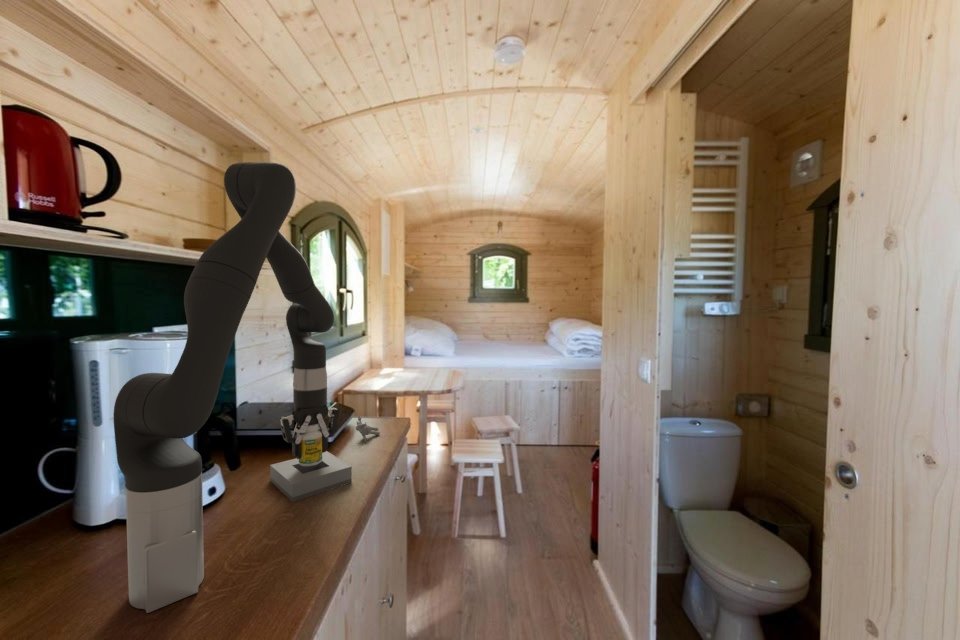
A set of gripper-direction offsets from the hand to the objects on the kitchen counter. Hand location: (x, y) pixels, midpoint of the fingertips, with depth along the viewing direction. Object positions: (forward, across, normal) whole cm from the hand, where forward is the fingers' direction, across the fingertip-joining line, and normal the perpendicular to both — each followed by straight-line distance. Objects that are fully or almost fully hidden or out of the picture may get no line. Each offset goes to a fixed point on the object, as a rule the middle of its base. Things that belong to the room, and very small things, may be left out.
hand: (310, 454), depth 100 cm
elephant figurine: (+7, +26, +20) cm, 33 cm away
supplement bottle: (+2, 0, 0) cm, 2 cm away
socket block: (+7, 0, 0) cm, 7 cm away
